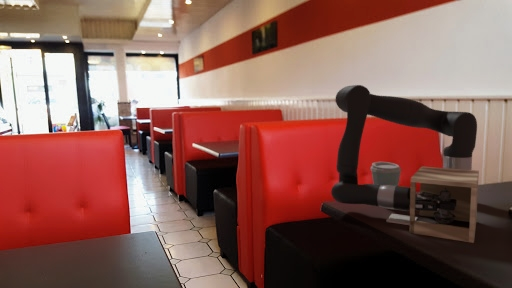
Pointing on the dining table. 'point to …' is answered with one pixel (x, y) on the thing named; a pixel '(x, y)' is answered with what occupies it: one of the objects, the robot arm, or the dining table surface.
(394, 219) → the mat
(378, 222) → the dining table surface
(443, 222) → the salt shaker
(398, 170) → the disposable coffee cup
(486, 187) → the dining table surface
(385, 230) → the dining table surface
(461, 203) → the hutch
